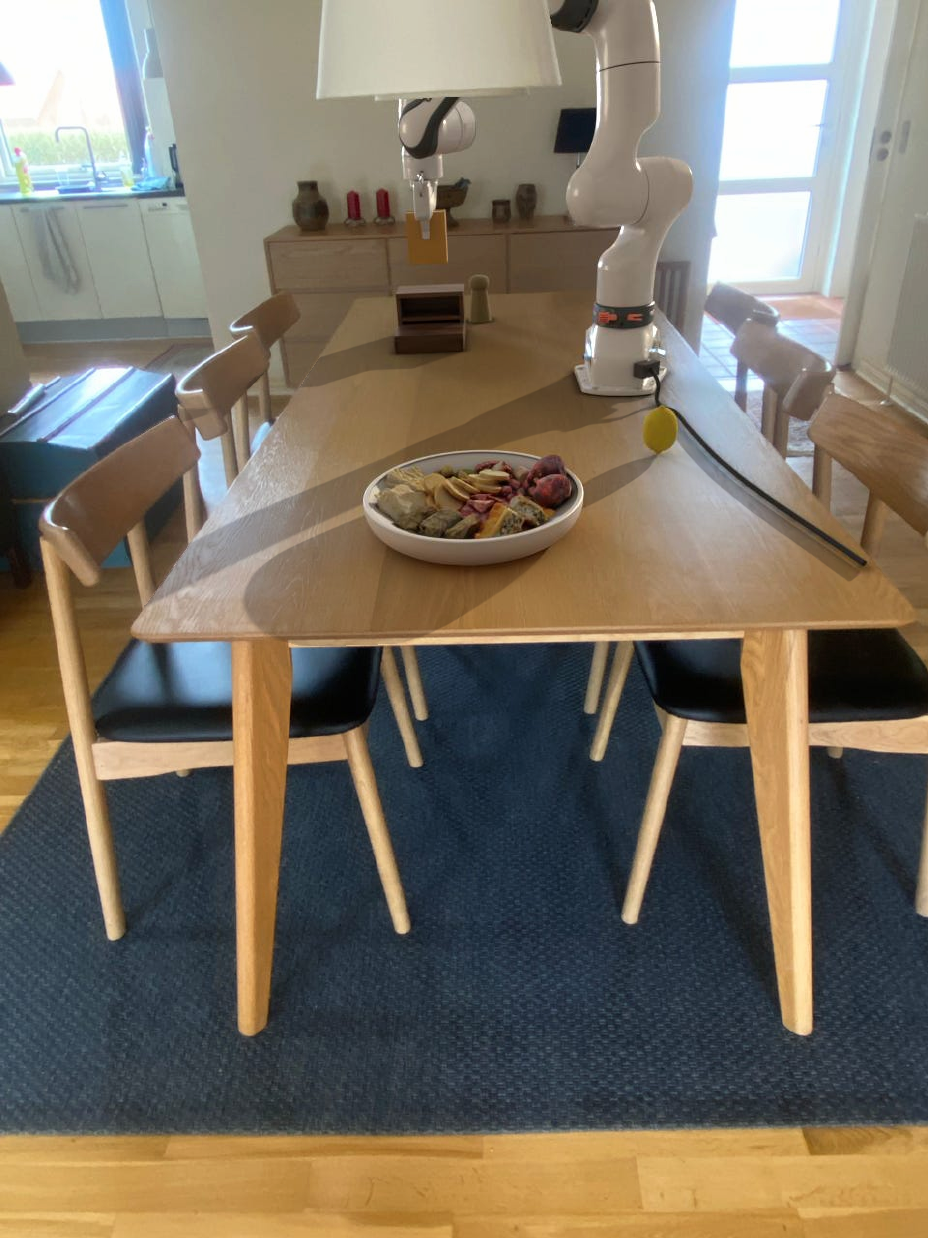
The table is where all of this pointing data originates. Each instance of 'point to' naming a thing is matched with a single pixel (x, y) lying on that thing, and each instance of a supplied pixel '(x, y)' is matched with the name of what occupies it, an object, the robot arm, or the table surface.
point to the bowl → (474, 506)
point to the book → (427, 240)
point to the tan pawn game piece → (479, 299)
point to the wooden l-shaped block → (430, 318)
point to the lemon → (660, 429)
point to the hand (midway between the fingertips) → (427, 236)
